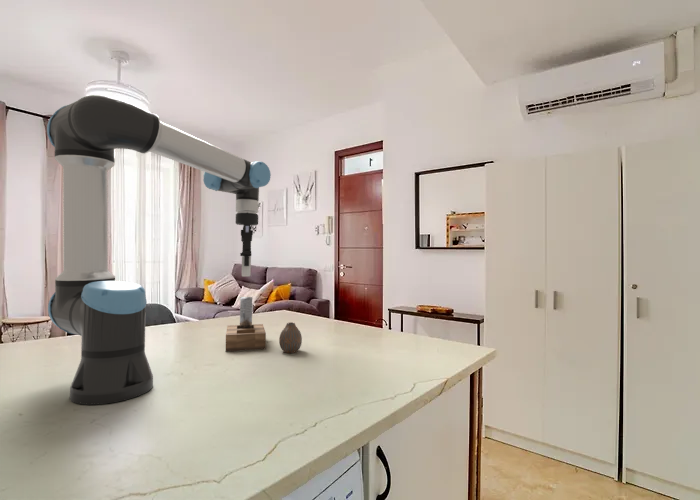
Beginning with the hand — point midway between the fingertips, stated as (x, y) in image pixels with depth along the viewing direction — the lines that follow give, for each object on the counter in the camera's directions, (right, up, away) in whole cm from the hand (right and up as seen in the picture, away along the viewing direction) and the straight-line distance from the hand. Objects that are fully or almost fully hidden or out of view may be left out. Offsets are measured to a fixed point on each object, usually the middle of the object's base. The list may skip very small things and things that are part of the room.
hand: (245, 275), depth 128 cm
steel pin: (0, -22, 0) cm, 22 cm away
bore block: (+1, -23, -4) cm, 23 cm away
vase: (+17, -23, -12) cm, 31 cm away
